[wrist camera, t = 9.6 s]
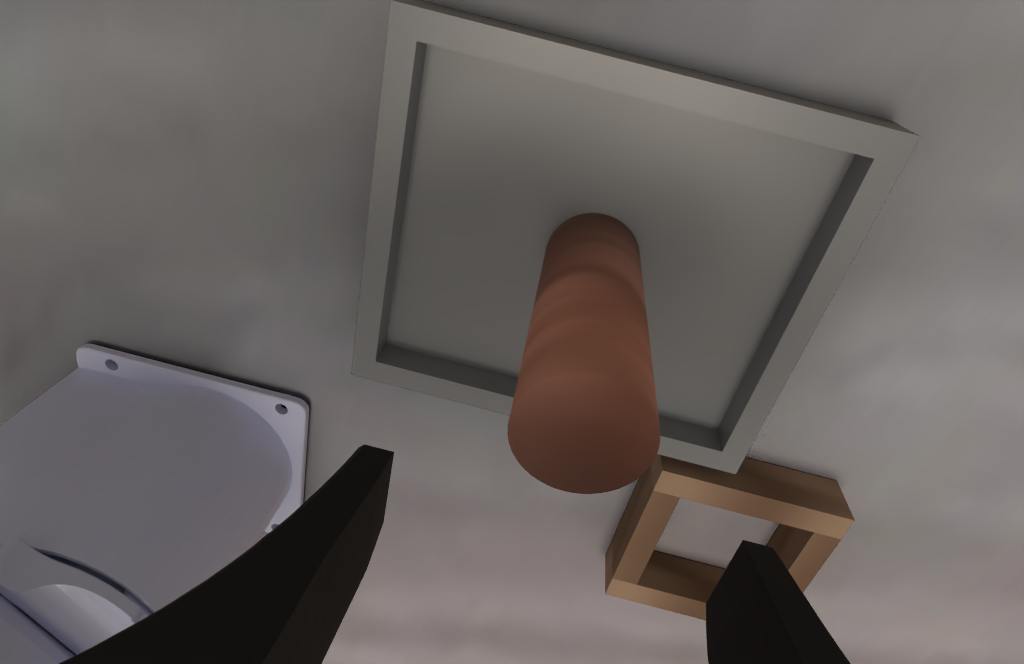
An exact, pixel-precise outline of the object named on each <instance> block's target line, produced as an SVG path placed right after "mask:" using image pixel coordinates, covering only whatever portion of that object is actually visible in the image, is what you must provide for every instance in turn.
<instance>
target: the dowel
mask: <svg viewBox="0 0 1024 664" xmlns="http://www.w3.org/2000/svg"><path fill="white" fill-rule="evenodd" d="M508 439H509V444H510V447H511V450H512V452H513V454H514V456H515V458H516V459H517V461H518V462H519V463H520V465H521V466H522V467H523V468H524V469H525V470H526V471H527V472H528V473H529V474H531V475H532V476H533V477H535V478H536V479H537V480H539V481H541V482H543V483H545V484H546V485H549V486H551V487H553V488H556V489H559V490H563V491H567V492H572V493H581V494H594V493H603V492H608V491H612V490H616V489H619V488H621V487H624V486H626V485H628V484H630V483H631V482H633V481H635V480H636V479H638V478H639V477H640V476H642V475H643V474H644V473H645V472H646V471H647V470H648V468H649V467H650V466H651V464H652V463H653V461H654V459H655V458H656V455H657V453H658V450H659V445H660V426H659V418H658V409H657V400H656V391H655V383H654V374H653V365H652V356H651V348H650V339H649V330H648V321H647V313H646V304H645V295H644V286H643V278H642V269H641V260H640V252H639V246H638V243H637V240H636V238H635V236H634V235H633V233H632V232H631V230H630V229H629V228H628V227H627V226H626V225H625V224H624V223H622V222H621V221H619V220H618V219H616V218H614V217H612V216H608V215H605V214H600V213H586V214H580V215H577V216H574V217H572V218H570V219H568V220H566V221H565V222H563V223H562V224H561V225H560V226H559V227H558V228H557V229H556V230H555V231H554V232H553V234H552V235H551V237H550V239H549V241H548V244H547V247H546V252H545V256H544V261H543V266H542V270H541V275H540V279H539V284H538V289H537V293H536V298H535V302H534V307H533V312H532V316H531V321H530V325H529V330H528V335H527V339H526V344H525V349H524V353H523V358H522V362H521V367H520V372H519V376H518V381H517V385H516V390H515V395H514V399H513V404H512V408H511V413H510V418H509V423H508Z"/></svg>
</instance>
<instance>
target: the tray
mask: <svg viewBox="0 0 1024 664" xmlns="http://www.w3.org/2000/svg"><path fill="white" fill-rule="evenodd" d="M919 138H920V136H919V135H917V134H915V133H913V132H912V131H910V130H908V129H906V128H904V127H902V126H900V125H898V124H896V123H895V122H892V121H888V120H884V119H880V118H876V117H872V116H869V115H865V114H861V113H857V112H853V111H849V110H845V109H841V108H837V107H834V106H830V105H826V104H822V103H818V102H814V101H810V100H806V99H802V98H799V97H795V96H791V95H787V94H783V93H779V92H775V91H771V90H767V89H764V88H760V87H756V86H752V85H748V84H744V83H740V82H736V81H732V80H729V79H725V78H721V77H717V76H713V75H709V74H705V73H701V72H697V71H694V70H690V69H686V68H682V67H678V66H674V65H670V64H666V63H662V62H659V61H655V60H651V59H647V58H643V57H639V56H635V55H631V54H627V53H623V52H620V51H616V50H612V49H608V48H604V47H600V46H596V45H592V44H588V43H585V42H581V41H577V40H573V39H569V38H565V37H561V36H557V35H553V34H550V33H546V32H542V31H538V30H534V29H530V28H526V27H522V26H518V25H515V24H511V23H507V22H503V21H499V20H495V19H491V18H487V17H483V16H480V15H476V14H472V13H468V12H464V11H460V10H456V9H452V8H448V7H445V6H441V5H437V4H433V3H429V2H425V1H421V0H391V2H390V11H389V21H388V30H387V40H386V49H385V59H384V68H383V78H382V87H381V96H380V106H379V115H378V125H377V134H376V144H375V153H374V163H373V172H372V182H371V191H370V200H369V210H368V219H367V229H366V238H365V248H364V257H363V267H362V276H361V286H360V295H359V305H358V314H357V323H356V333H355V342H354V352H353V361H352V371H351V374H352V375H356V376H359V377H363V378H367V379H371V380H375V381H379V382H383V383H386V384H390V385H394V386H398V387H402V388H406V389H409V390H413V391H417V392H421V393H425V394H429V395H433V396H436V397H440V398H444V399H448V400H452V401H456V402H459V403H463V404H467V405H471V406H475V407H479V408H483V409H486V410H490V411H494V412H498V413H502V414H506V415H509V416H510V413H511V408H512V404H513V399H514V395H515V390H516V385H517V381H518V376H519V372H520V367H521V362H522V358H523V353H524V349H525V344H526V339H527V335H528V330H529V325H530V321H531V316H532V312H533V307H534V302H535V298H536V293H537V289H538V284H539V279H540V275H541V270H542V266H543V261H544V256H545V252H546V247H547V244H548V241H549V239H550V237H551V235H552V234H553V232H554V231H555V230H556V229H557V228H558V227H559V226H560V225H561V224H562V223H563V222H565V221H566V220H568V219H570V218H572V217H574V216H577V215H580V214H586V213H600V214H605V215H608V216H612V217H614V218H616V219H618V220H619V221H621V222H622V223H624V224H625V225H626V226H627V227H628V228H629V229H630V230H631V232H632V233H633V235H634V236H635V238H636V240H637V243H638V246H639V252H640V260H641V269H642V278H643V286H644V295H645V304H646V313H647V321H648V330H649V339H650V348H651V356H652V365H653V374H654V383H655V391H656V400H657V409H658V418H659V426H660V445H659V450H658V453H657V454H659V455H663V456H667V457H671V458H675V459H679V460H683V461H686V462H690V463H694V464H698V465H702V466H706V467H709V468H713V469H717V470H721V471H725V472H729V473H733V474H736V473H737V471H738V469H739V467H740V465H741V464H742V462H743V460H744V458H745V456H746V455H747V453H748V451H749V449H750V447H751V445H752V444H753V442H754V440H755V438H756V436H757V434H758V433H759V431H760V429H761V427H762V425H763V423H764V422H765V420H766V418H767V416H768V414H769V412H770V411H771V409H772V407H773V405H774V403H775V401H776V400H777V398H778V396H779V394H780V392H781V391H782V389H783V387H784V385H785V383H786V381H787V380H788V378H789V376H790V374H791V372H792V370H793V369H794V367H795V365H796V363H797V361H798V359H799V358H800V356H801V354H802V352H803V350H804V348H805V347H806V345H807V343H808V341H809V339H810V338H811V336H812V334H813V332H814V330H815V328H816V327H817V325H818V323H819V321H820V319H821V317H822V316H823V314H824V312H825V310H826V308H827V306H828V305H829V303H830V301H831V299H832V297H833V295H834V294H835V292H836V290H837V288H838V286H839V285H840V283H841V281H842V279H843V277H844V275H845V274H846V272H847V270H848V268H849V266H850V264H851V263H852V261H853V259H854V257H855V255H856V253H857V252H858V250H859V248H860V246H861V244H862V242H863V241H864V239H865V237H866V235H867V233H868V232H869V230H870V228H871V226H872V224H873V222H874V221H875V219H876V217H877V215H878V213H879V211H880V210H881V208H882V206H883V204H884V202H885V200H886V199H887V197H888V195H889V193H890V191H891V189H892V188H893V186H894V184H895V182H896V180H897V178H898V177H899V175H900V173H901V171H902V169H903V168H904V166H905V164H906V162H907V160H908V158H909V157H910V155H911V153H912V151H913V149H914V147H915V146H916V144H917V142H918V140H919Z"/></svg>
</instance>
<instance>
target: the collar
mask: <svg viewBox="0 0 1024 664" xmlns="http://www.w3.org/2000/svg"><path fill="white" fill-rule="evenodd" d="M680 498H684V499H688V500H692V501H695V502H699V503H703V504H707V505H711V506H715V507H718V508H722V509H726V510H730V511H734V512H738V513H742V514H745V515H749V516H753V517H757V518H761V519H765V520H768V521H772V522H776V523H780V525H779V527H778V528H777V530H776V532H775V533H774V535H773V536H772V538H771V539H770V541H769V543H768V544H767V546H768V547H772V548H773V549H774V550H775V552H776V553H777V555H778V556H779V557H780V559H781V560H782V562H783V563H784V565H785V567H786V568H787V570H788V571H789V573H790V574H791V576H792V577H793V579H794V580H795V582H796V583H797V585H798V587H799V588H800V590H801V591H802V593H803V592H804V591H805V589H806V588H807V586H808V585H809V584H810V582H811V581H812V579H813V578H814V577H815V575H816V574H817V572H818V571H819V570H820V568H821V567H822V565H823V564H824V563H825V561H826V560H827V558H828V557H829V556H830V554H831V553H832V551H833V550H834V549H835V547H836V546H837V544H838V543H839V542H840V540H841V539H842V538H843V536H844V535H845V533H846V532H847V531H848V529H849V528H850V526H851V525H852V524H853V522H854V521H855V520H854V518H853V516H852V513H851V511H850V509H849V507H848V504H847V502H846V500H845V498H844V496H843V493H842V491H841V489H840V487H839V484H838V482H837V481H834V480H831V479H827V478H823V477H819V476H815V475H811V474H808V473H804V472H800V471H796V470H792V469H788V468H784V467H781V466H777V465H773V464H769V463H765V462H761V461H757V460H754V459H750V458H746V457H745V458H744V460H743V462H742V464H741V465H740V467H739V469H738V471H737V473H736V474H733V473H729V472H725V471H721V470H717V469H713V468H709V467H706V466H702V465H698V464H694V463H690V462H686V461H683V460H679V459H675V458H671V457H667V456H663V455H659V454H657V455H656V458H655V459H654V461H653V463H652V464H651V466H650V467H649V468H648V470H647V471H646V472H645V473H644V474H643V475H642V476H640V478H639V480H638V483H637V485H636V487H635V489H634V492H633V494H632V496H631V499H630V501H629V503H628V505H627V508H626V510H625V512H624V514H623V517H622V519H621V521H620V523H619V526H618V528H617V530H616V533H615V535H614V537H613V539H612V542H611V544H610V546H609V548H608V551H607V553H606V555H605V594H607V595H611V596H615V597H619V598H622V599H626V600H630V601H634V602H638V603H642V604H645V605H649V606H653V607H657V608H661V609H665V610H668V611H672V612H676V613H680V614H684V615H688V616H691V617H695V618H699V619H703V620H706V603H707V601H708V599H709V597H710V596H711V594H712V592H713V591H714V589H715V587H716V585H717V584H718V582H719V580H720V579H721V577H722V575H723V573H724V572H725V570H726V569H722V568H718V567H714V566H710V565H706V564H703V563H699V562H695V561H691V560H687V559H683V558H680V557H676V556H672V555H668V554H664V553H660V552H657V551H654V549H655V547H656V545H657V543H658V541H659V539H660V537H661V535H662V533H663V531H664V529H665V527H666V525H667V523H668V521H669V519H670V517H671V515H672V513H673V511H674V509H675V507H676V505H677V503H678V501H679V499H680Z"/></svg>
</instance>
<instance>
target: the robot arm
mask: <svg viewBox="0 0 1024 664" xmlns="http://www.w3.org/2000/svg"><path fill="white" fill-rule="evenodd" d="M76 358H77V364H78V368H77V369H75V370H74V371H73V372H71V373H70V374H69V375H67V376H66V377H65V378H63V379H62V380H61V381H59V382H58V383H57V384H55V385H54V386H53V387H51V388H50V389H49V390H47V391H46V392H45V393H43V394H42V395H40V396H39V397H38V398H36V399H35V400H34V401H32V402H31V403H30V404H28V405H27V406H26V407H24V408H23V409H22V410H20V411H19V412H18V413H16V414H15V415H14V416H12V417H11V418H10V419H8V420H7V421H6V422H4V423H3V424H2V425H0V664H322V662H323V659H324V657H325V655H326V653H327V651H328V649H329V647H330V645H331V643H332V641H333V639H334V637H335V635H336V632H337V630H338V628H339V626H340V624H341V622H342V620H343V618H344V616H345V614H346V612H347V610H348V607H349V605H350V603H351V601H352V599H353V597H354V595H355V593H356V591H357V589H358V587H359V584H360V582H361V580H362V578H363V576H364V574H365V572H366V570H367V567H368V564H369V561H370V559H371V556H372V553H373V550H374V548H375V545H376V542H377V539H378V536H379V533H380V530H381V528H382V525H383V521H384V515H385V508H386V501H387V495H388V488H389V482H390V475H391V468H392V462H393V455H394V452H392V451H388V450H384V449H380V448H376V447H372V446H368V445H363V446H361V447H359V448H358V449H357V450H356V451H355V452H354V454H353V455H352V456H351V457H350V458H349V459H348V460H347V461H346V462H345V463H344V465H343V466H342V467H341V468H340V469H339V470H338V471H337V472H336V473H335V474H334V475H333V476H332V477H331V478H330V479H329V480H328V481H327V482H326V483H325V484H324V485H323V486H322V487H321V488H320V489H319V490H318V491H316V492H315V493H314V494H313V495H312V496H311V497H310V498H309V499H308V500H307V501H306V502H304V503H303V497H304V482H305V467H306V451H307V436H308V421H309V406H308V405H307V403H306V402H305V401H304V400H302V399H300V398H298V397H294V396H290V395H286V394H283V393H279V392H275V391H271V390H267V389H263V388H259V387H256V386H252V385H248V384H244V383H240V382H236V381H233V380H229V379H225V378H221V377H217V376H213V375H209V374H206V373H202V372H198V371H194V370H190V369H186V368H183V367H179V366H175V365H171V364H167V363H163V362H160V361H156V360H152V359H148V358H144V357H140V356H136V355H133V354H129V353H125V352H121V351H117V350H113V349H110V348H106V347H102V346H98V345H94V344H88V343H87V344H84V345H83V346H81V347H80V348H78V350H77V351H76ZM113 361H115V362H116V363H117V364H116V363H114V362H113ZM280 404H283V405H285V406H286V407H287V409H286V408H283V407H282V406H281V405H280ZM264 532H267V533H268V534H267V535H266V536H265V537H263V538H262V539H261V540H260V541H259V539H260V538H261V536H262V535H263V533H264ZM258 541H259V542H258ZM706 634H707V653H708V661H709V664H850V662H849V661H848V660H847V658H846V657H845V655H844V654H843V652H842V651H841V650H840V648H839V647H838V645H837V644H836V642H835V641H834V639H833V638H832V636H831V635H830V633H829V632H828V631H827V629H826V628H825V626H824V625H823V623H822V622H821V620H820V619H819V617H818V616H817V614H816V613H815V611H814V609H813V608H812V606H811V605H810V603H809V602H808V600H807V599H806V597H805V596H804V594H803V593H802V591H801V590H800V588H799V587H798V585H797V583H796V582H795V580H794V579H793V577H792V576H791V574H790V573H789V571H788V570H787V568H786V567H785V565H784V563H783V562H782V560H781V559H780V557H779V556H778V555H777V553H776V552H775V550H774V549H773V548H772V547H768V546H764V545H760V544H756V543H752V542H749V541H745V540H743V541H742V543H741V544H740V546H739V548H738V550H737V551H736V553H735V555H734V556H733V558H732V560H731V561H730V563H729V565H728V567H727V568H726V570H725V572H724V573H723V575H722V577H721V579H720V580H719V582H718V584H717V585H716V587H715V589H714V591H713V592H712V594H711V596H710V597H709V599H708V601H707V603H706Z"/></svg>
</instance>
